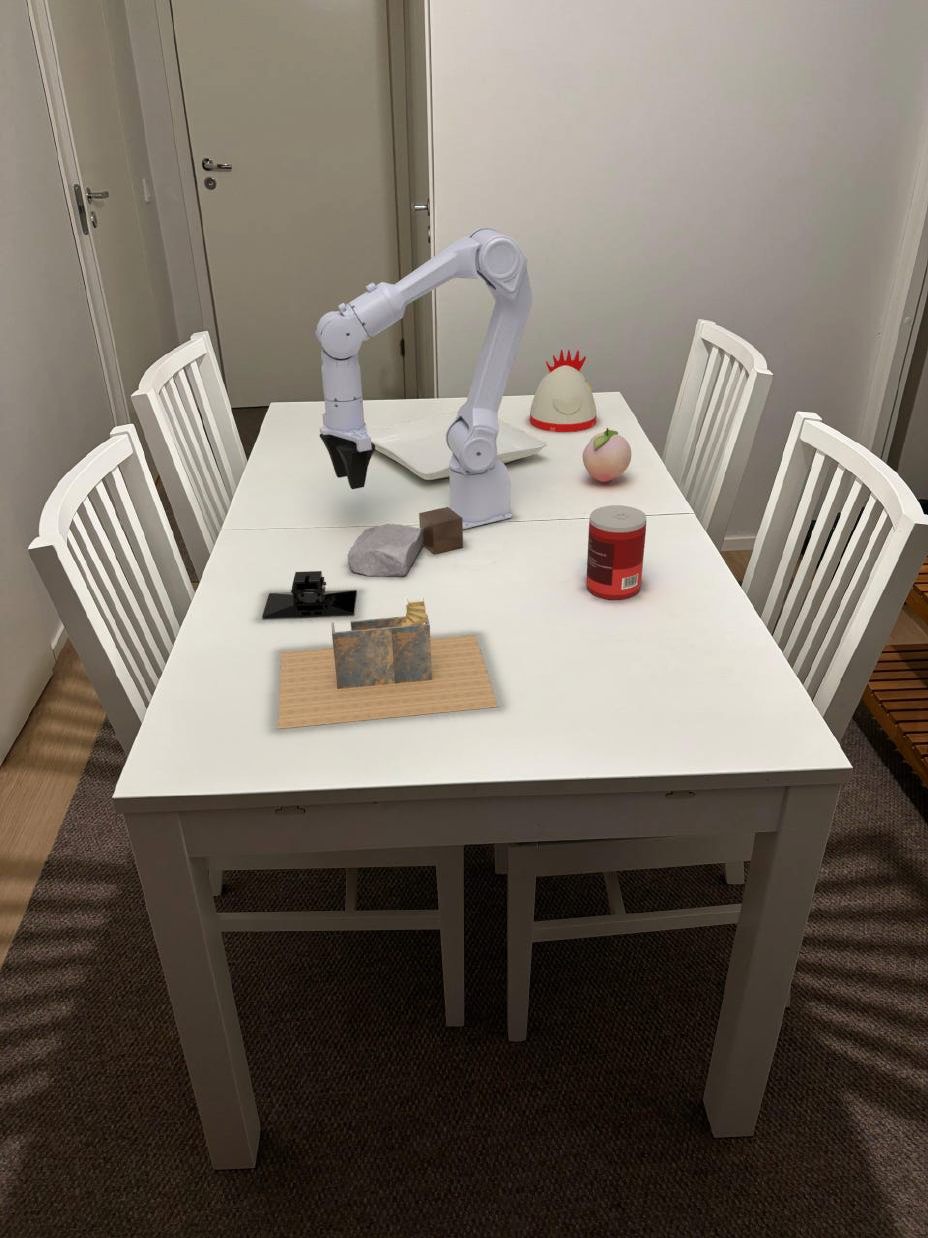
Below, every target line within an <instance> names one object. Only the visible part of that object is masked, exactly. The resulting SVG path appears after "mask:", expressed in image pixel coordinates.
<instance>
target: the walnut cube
mask: <svg viewBox="0 0 928 1238" xmlns="http://www.w3.org/2000/svg"><path fill="white" fill-rule="evenodd" d="M418 518H419V519H418V520H419V522H418V524H419V528H422V530H423V545H422V546H424V547H425V548H426V549H427V550H429V551H430V552H431V553H432V554H433V555H438V554H442V553H447V552H451V551H454V550H458V549H463V548H464V529H463V521H462V517H461V516H459V515H458V514H457V513H455V512H454V511H453V510H451V509H450V506H445V507H441V508H436V509H431V510H426V511H423V512H418Z"/></svg>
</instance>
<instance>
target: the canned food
mask: <svg viewBox="0 0 928 1238" xmlns="http://www.w3.org/2000/svg"><path fill="white" fill-rule="evenodd" d="M588 519H589V522H588V540H587V559H586V577H585V579H586V580H585V584H586V586H587V589H588V591H589V592H590V593H591V594H592V595H594V596H596V597H598V598H601V599H605V600H625V599H628V598H630V597H633V596H634V595H636V594H637V593H638V592H639V590H640V588H641V586H642V578H643V577H642V576H643V568H644V567H643V565H644V555H645V546H646V545H645V544H646V533H647V515H646V513H645V512H644V511H642V510H640V509H638V508H637V507H633V506H629V505H620V504H614V505H605V506H601V507H598V508H596V509H594V510H592V511H591V512H590V514H589V518H588Z"/></svg>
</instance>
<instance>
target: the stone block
mask: <svg viewBox="0 0 928 1238" xmlns="http://www.w3.org/2000/svg"><path fill="white" fill-rule="evenodd" d="M423 546H424V545H423V530H422V528H420V527H415V526H411V525H403V524H398V523H397V524H396V523H385V524H382V525H374V526H373V527H368V528H366V529H364V530H363V532H362V534H359V536H358V537H357V538H356V539H355V541H354V542H353V544H352V546H351V547H350V548H349V551H348V553H347V562H348V563H347V564H348V565H349V567H350V569H351V570H352V572H353V573H357V574H361V575H365V576H367V577H404V576H406V575H407V574H408V572H409V570H410V569H411V567H412V566H413V563H414V562H415V559H416V558H417V556H418V554H419V553H420V551H421V549H422V547H423Z"/></svg>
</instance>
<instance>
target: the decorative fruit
mask: <svg viewBox="0 0 928 1238" xmlns="http://www.w3.org/2000/svg"><path fill="white" fill-rule="evenodd" d="M631 461H632V448H631V444H630V443H629V442H628V440H627V439H626V438H625V437H623V436H621V434H619V431H617V430H613V429H610V428H609V427H607V428H606V430H605V431H603V432H599V433H597V434H595V435H594V436H593V437H592V438H591V439H590V440H589V442H588V443H587V444H586V445H585V447H584V449H583V451H582V462H583V465H584V468H585V470H586V471H587V473H588V474H589V476H591V477H592V478H593V479H594V480H596V481H598V482H601V483H606V482H609V481H611V480H614V479H616V478H618V477H619V476H621V475H623V474H624V473H625V472H626V471H627V469H628V467H629V466H630V465H631Z"/></svg>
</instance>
